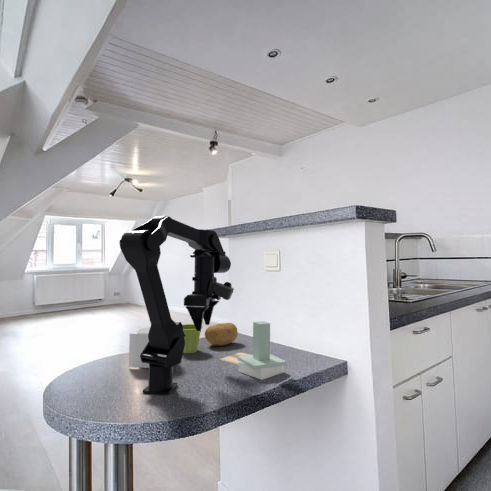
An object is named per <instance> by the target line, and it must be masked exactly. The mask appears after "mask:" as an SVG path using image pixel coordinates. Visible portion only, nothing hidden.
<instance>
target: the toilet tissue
mask: <svg viewBox="0 0 491 491" xmlns="http://www.w3.org/2000/svg"><path fill="white" fill-rule="evenodd" d="M149 330H150V327H144V328H140V329H138V330H137V333H129V344H128V345H129V346H128V347H129V349H128V351H129V352H128V367H129V368H144V369H149V364H148V363H142V362H141V358H140V354H141V353H142V351H143V350H144V348H145V347H146V345H147V344H148V342H149V340H148V333H149ZM157 356H161V357H166V355H161V354H158V355H157Z"/></svg>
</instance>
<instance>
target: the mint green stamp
mask: <svg viewBox="0 0 491 491" xmlns="http://www.w3.org/2000/svg"><path fill="white" fill-rule="evenodd" d="M252 322H253V324H252V332H253V333H252V354H250V355H244V356H238V359H237V360H239V361H240V362H242V363H243V364H245V365H247V366H248V367H250V368H252V369H253V370H257V369H264V368H270V367H277V366H283V365H284V366H287V360H284V359H282V358H280V357H278V356H276V355H274V354H271V323H270V322H267V321H263V320H262V321H252Z"/></svg>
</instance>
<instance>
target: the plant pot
mask: <svg viewBox="0 0 491 491" xmlns="http://www.w3.org/2000/svg"><path fill="white" fill-rule="evenodd" d="M182 326H183V332H184V334H185V335H186V336H185V337H184V339H185V347H184V351H183V354H194V353H197V352H198V349H199V345H200V344H199V343H200V338H201V332H202V329H203V325H202V328H201V331H197V330H196V327H195V325H194V323H187V324H186V323H185V324H182Z"/></svg>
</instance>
